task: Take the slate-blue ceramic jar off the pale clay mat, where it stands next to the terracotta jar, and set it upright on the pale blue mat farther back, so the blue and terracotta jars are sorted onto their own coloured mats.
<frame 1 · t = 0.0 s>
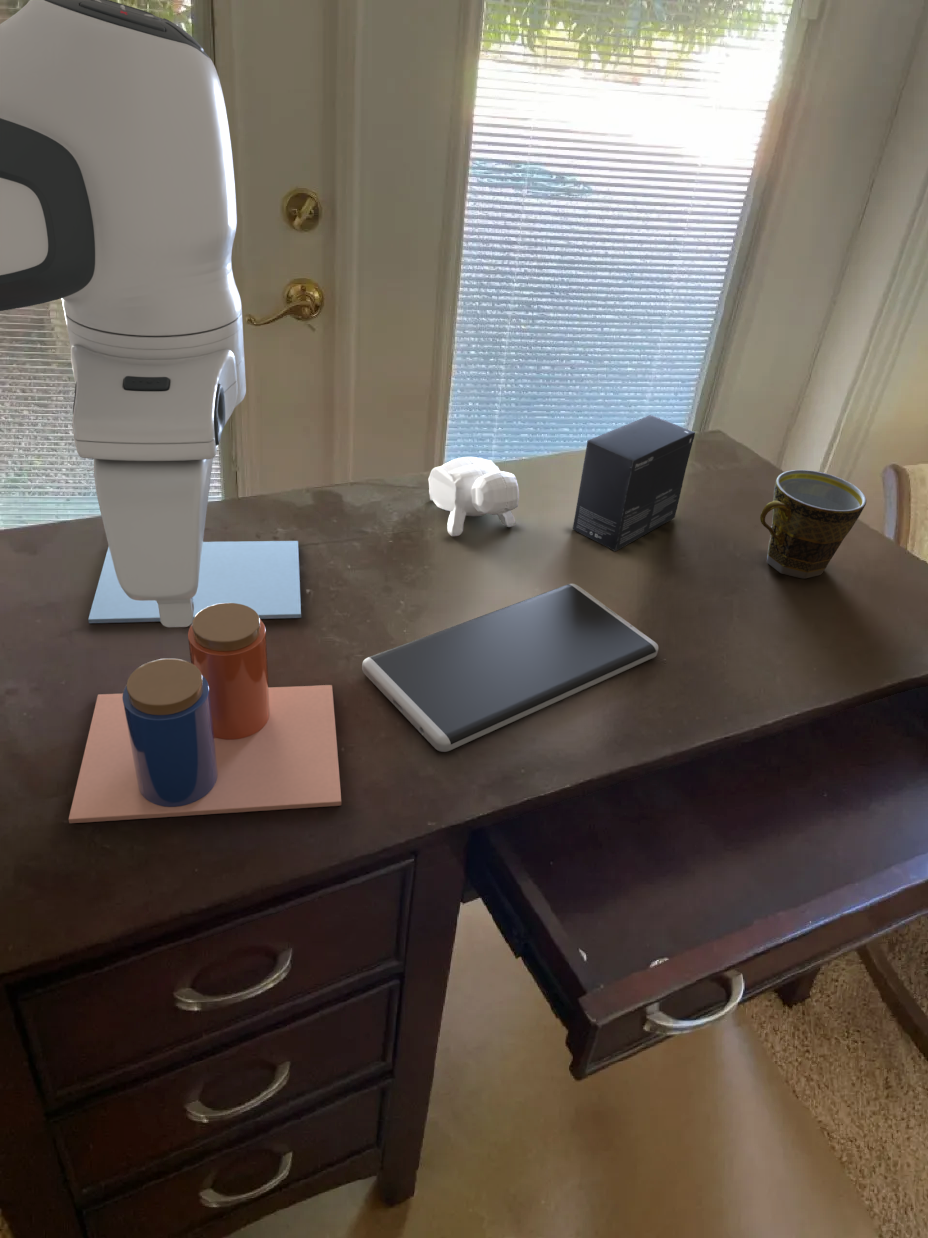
hand: (184, 575, 56), 21 cm above the table, tool pointing down, fingers open, 8 cm apart
blue mat: (201, 580, 92), on the table
clay mat: (214, 749, 73), on the table
white sheep figurine: (472, 522, 108), on the table
smartphone: (513, 666, 86), on the table
terracotta jar: (233, 715, 76), resting on clay mat
small box: (623, 525, 111), on the table
blue jar: (178, 778, 70), resting on clay mat
ceramic cup: (783, 567, 106), on the table
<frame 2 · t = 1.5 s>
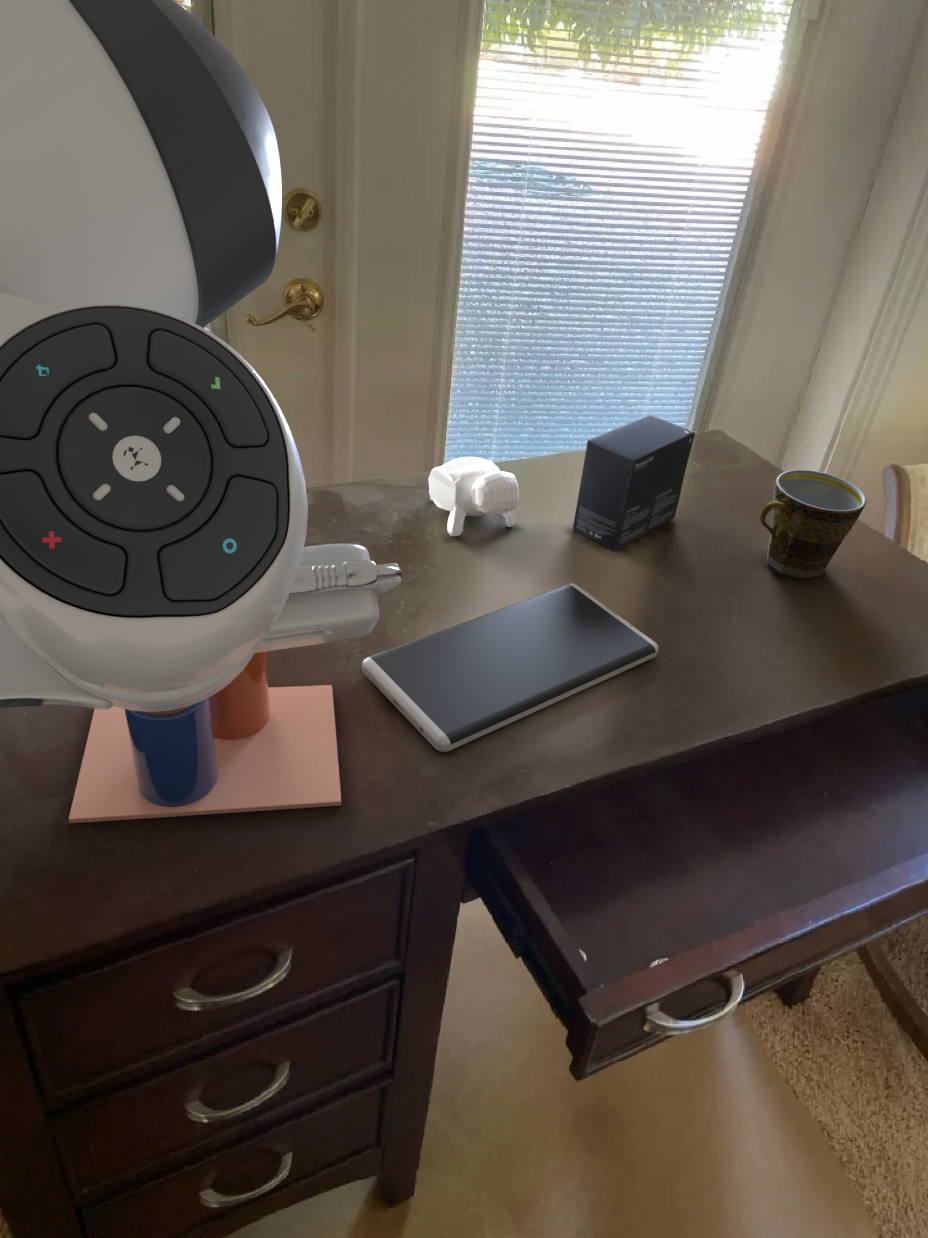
hand: (160, 643, 47), 23 cm above the table, tool tilted 45°, fingers open, 8 cm apart
nothing on the table moved.
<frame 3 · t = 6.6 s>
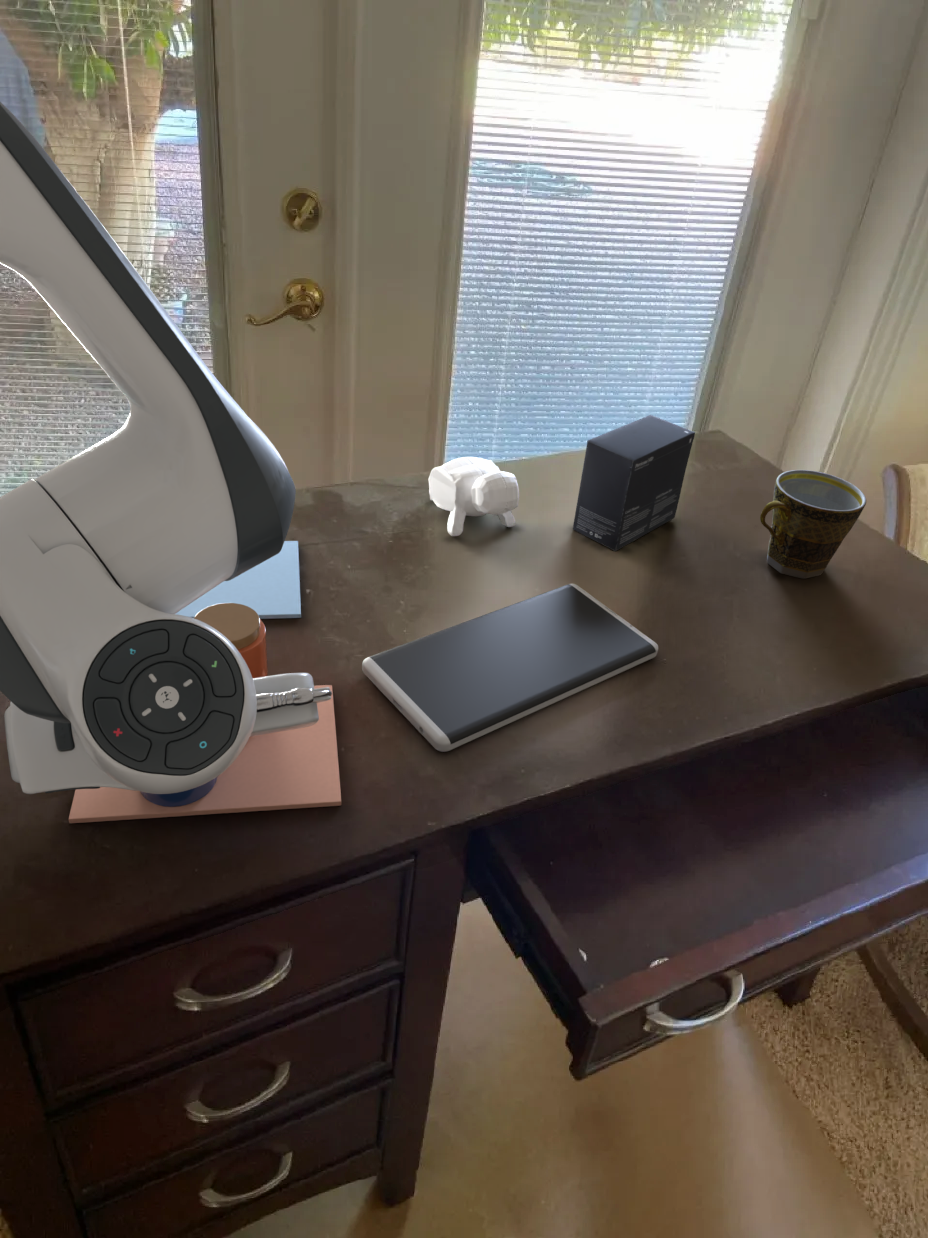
hand: (170, 727, 67), 5 cm above the table, tool tilted 45°, fingers closed on blue jar, 6 cm apart
blue jar: (178, 778, 70), point 1 cm above the table, touching clay mat, gripper
everything else where it was.
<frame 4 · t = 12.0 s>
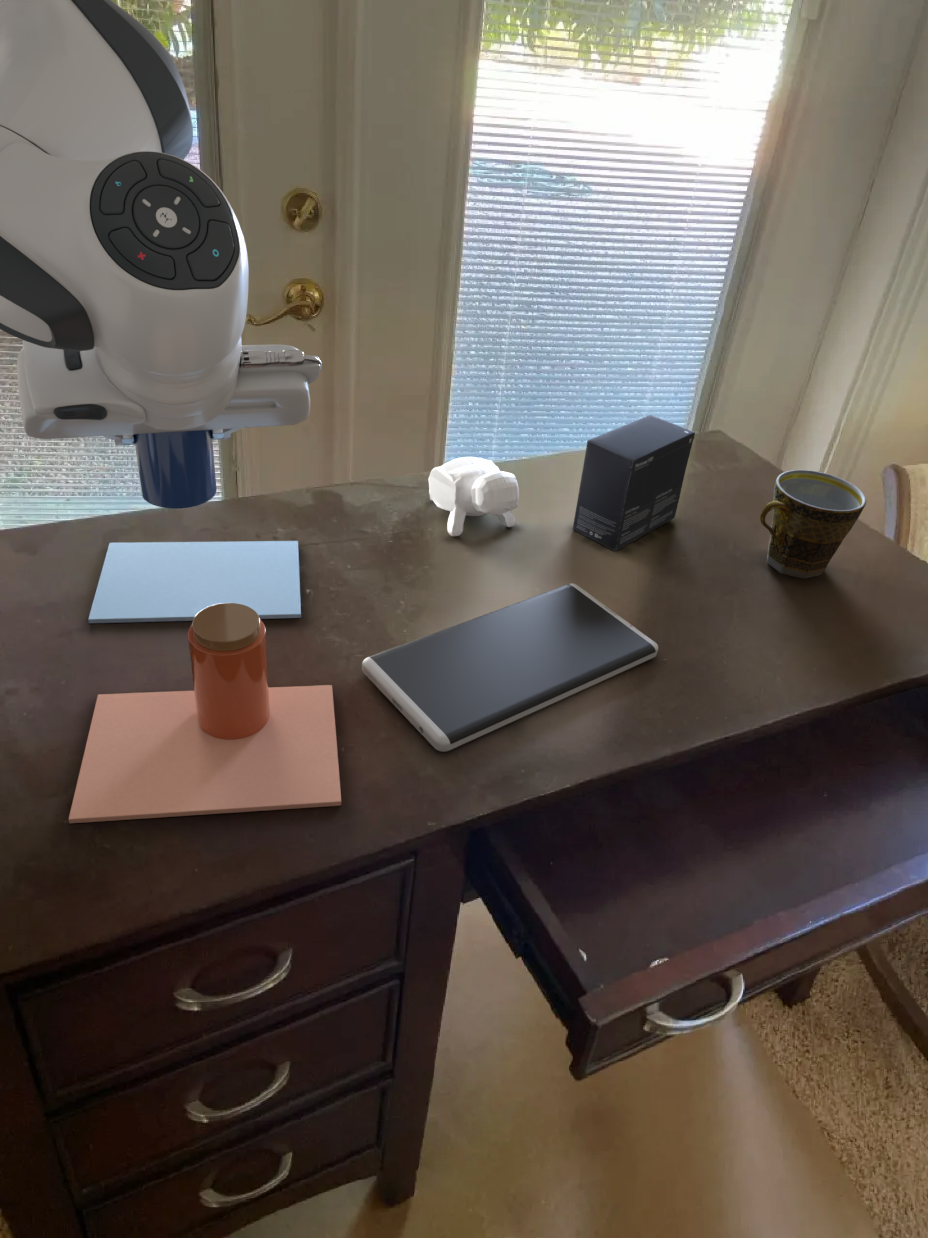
hand: (172, 433, 71), 21 cm above the table, tool tilted 45°, fingers closed on blue jar, 6 cm apart
blue jar: (179, 491, 74), point 17 cm above the table, touching gripper
everything else where it was.
when the fingers open (5 cm above the table, at t = 17.5 s): blue jar stays where it is, resting on blue mat.
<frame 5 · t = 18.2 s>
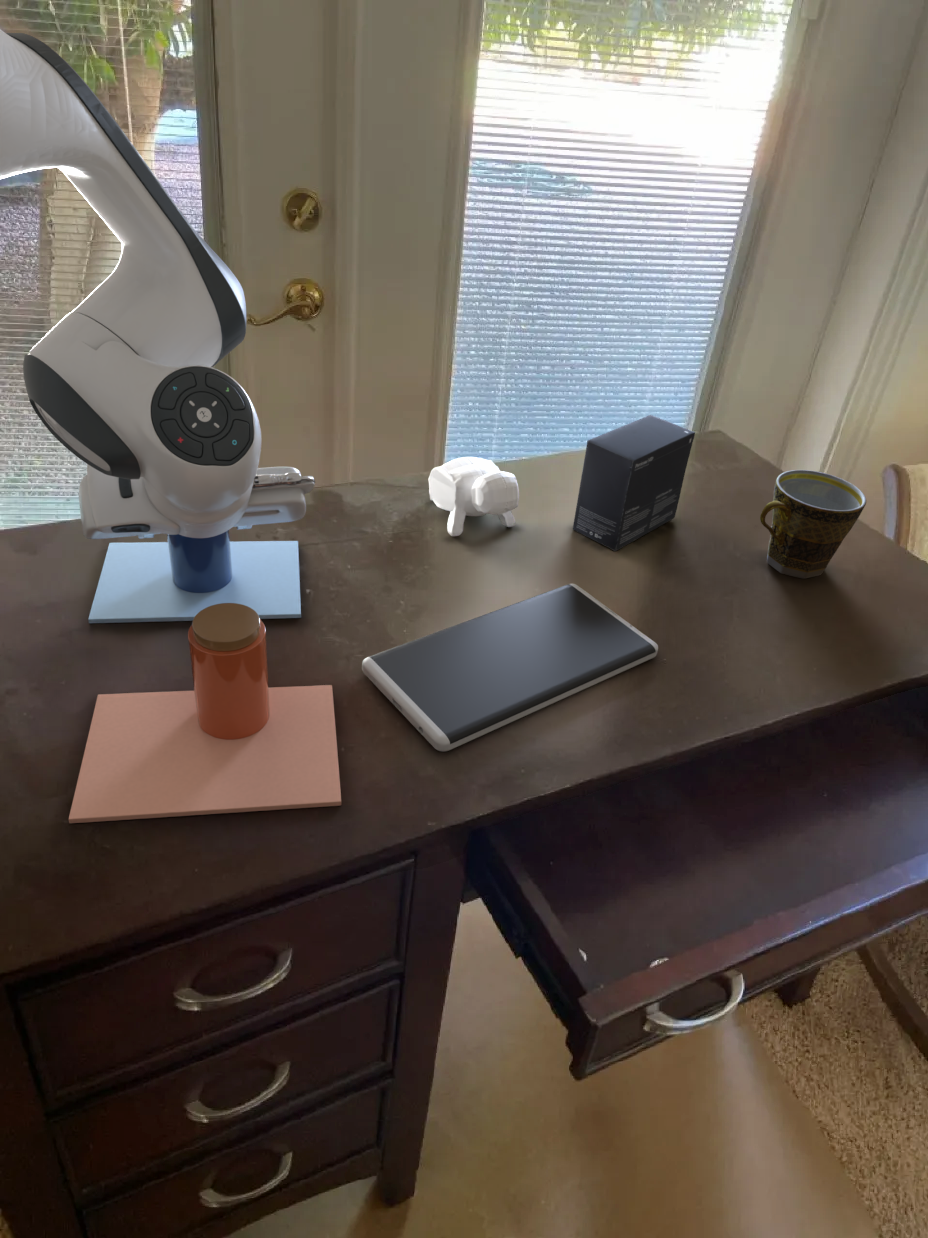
hand: (194, 525, 89), 6 cm above the table, tool tilted 45°, fingers open, 8 cm apart
blue jar: (202, 577, 92), resting on blue mat
everything else where it was.
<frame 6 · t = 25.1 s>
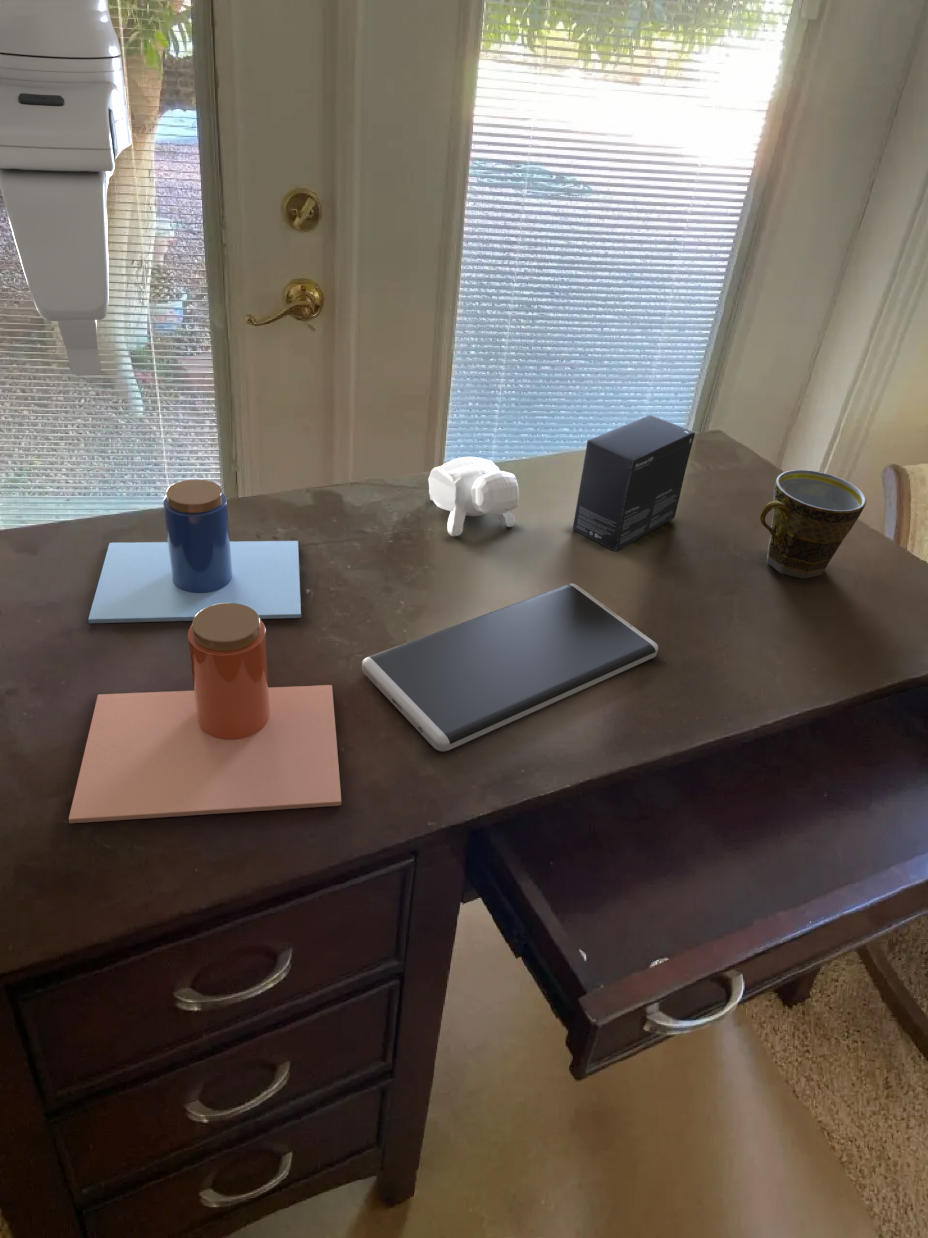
hand: (85, 345, 59), 31 cm above the table, tool pointing down, fingers open, 8 cm apart
nothing on the table moved.
at the end: blue jar inside the target area on the blue mat (0.1 cm from its centre), point 0.5 cm above the blue mat's base; blue jar tilted 0°; terracotta jar inside the target area on the clay mat (3.8 cm from its centre), point 0.5 cm above the clay mat's base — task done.
